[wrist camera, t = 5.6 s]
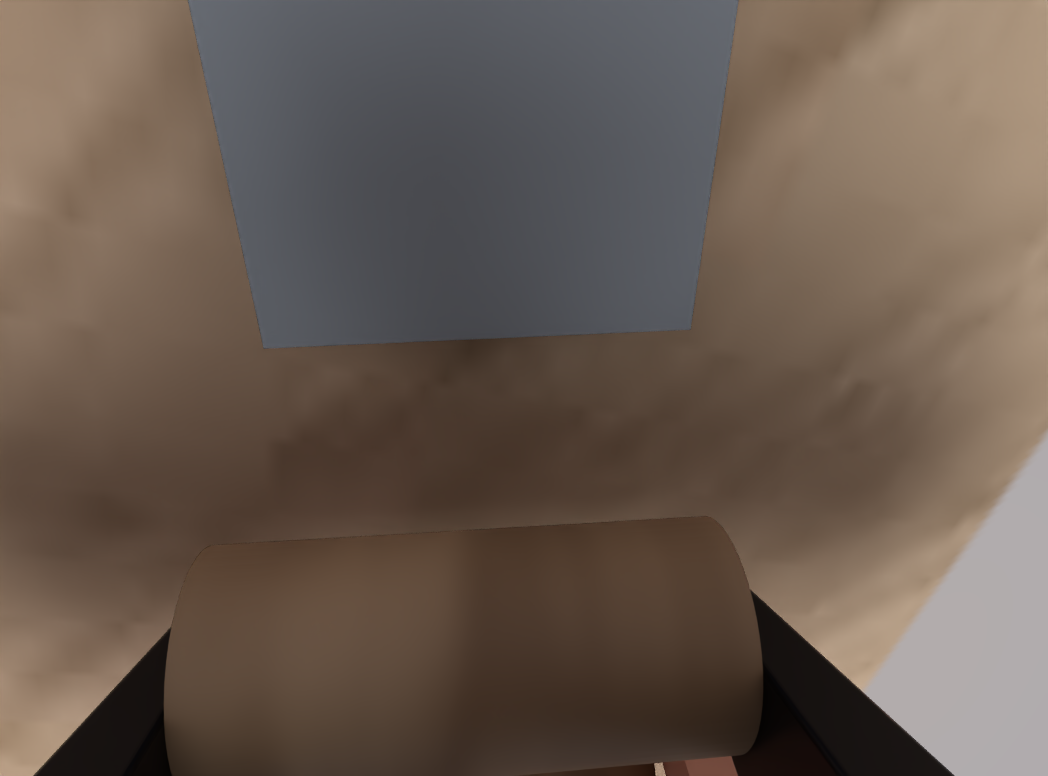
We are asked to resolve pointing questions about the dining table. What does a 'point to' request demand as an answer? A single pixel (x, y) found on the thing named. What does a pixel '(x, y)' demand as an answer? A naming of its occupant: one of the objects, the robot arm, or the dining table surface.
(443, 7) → the slab
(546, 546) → the roller
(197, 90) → the dining table surface
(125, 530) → the dining table surface
